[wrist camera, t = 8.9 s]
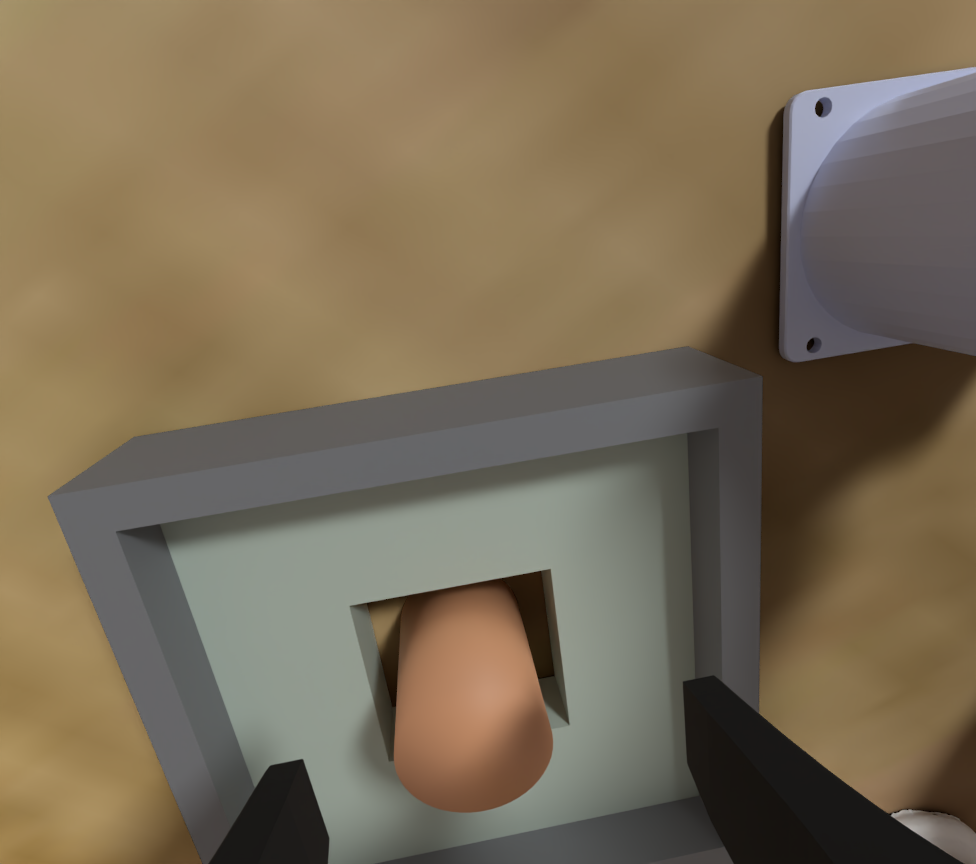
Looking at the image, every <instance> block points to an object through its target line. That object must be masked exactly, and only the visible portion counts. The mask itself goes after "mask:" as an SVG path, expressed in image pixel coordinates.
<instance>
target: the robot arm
mask: <svg viewBox="0 0 976 864" xmlns="http://www.w3.org/2000/svg"><path fill="white" fill-rule="evenodd" d="M817 101H820V102H821V103H822V104H823V113H822V115H821V116H820V117H818V116H817V114H816V113H815V106H816V103H817ZM811 338H814V345H813V347H812V348H811V349H810V350H808V351H807V347H806V346H807V342H808V341H809V340H810V339H811ZM911 343H915V344H920V345H925V346H930V347H934V348H939V349H944V350H949V351H954V352H958V353H963V354H968V355H973V356H976V67H973V68H966V69H959V70H951V71H944V72H937V73H930V74H923V75H916V76H908V77H901V78H894V79H887V80H880V81H873V82H865V83H858V84H851V85H844V86H837V87H830V88H822V89H815V90H808V91H805V92H802V93H799V94H797V95H794V96H793V97H792V98H791V99H790V100H789V101H788V102H787V104H786V106H785V109H784V117H783V167H782V217H781V267H780V317H779V352H780V355H781V356H782V357H783V358H784V359H786V360H788V361H791V362H803V361H809V360H815V359H821V358H827V357H833V356H839V355H845V354H851V353H857V352H863V351H869V350H875V349H881V348H887V347H893V346H899V345H905V344H911ZM683 699H684V717H685V736H686V755H687V764H688V767H689V769H690V772H691V774H692V777H693V779H694V782H695V784H696V787H697V789H698V792H699V794H700V796H701V799H702V801H703V803H704V806H705V808H706V810H707V813H708V815H709V818H710V820H711V822H712V824H713V826H714V828H715V830H716V832H717V833H718V835H719V837H720V839H721V841H722V843H723V845H724V847H725V849H726V850H727V852H728V854H729V856H730V858H731V860H732V862H733V864H964V863H962V862H961V861H959V860H957V859H956V858H954V857H953V856H951V855H949V854H948V853H946V852H945V851H943V850H942V849H940V848H938V847H937V846H935V845H934V844H932V843H931V842H929V841H928V840H926V839H925V838H923V837H922V836H920V835H918V834H917V833H915V832H914V831H912V830H911V829H909V828H908V827H906V826H905V825H903V824H902V823H901V822H899V821H898V820H896V819H895V818H893V817H892V816H890V815H889V814H888V813H886V812H885V811H883V810H882V809H880V808H879V807H878V806H876V805H875V804H873V803H872V802H871V801H869V800H868V799H867V798H865V797H864V796H862V795H861V794H860V793H858V792H857V791H856V790H854V789H853V788H851V787H850V786H849V785H847V784H846V783H845V782H843V781H842V780H841V779H839V778H838V777H837V776H835V775H834V774H833V773H831V772H830V771H829V770H828V769H826V768H825V767H824V766H822V765H821V764H820V763H819V762H817V761H816V760H815V759H814V758H812V757H811V756H810V755H809V754H807V753H806V752H805V751H804V750H802V749H801V748H800V747H799V746H797V745H796V744H795V743H793V742H792V741H791V740H790V739H789V738H787V737H786V736H785V735H784V734H782V733H781V732H780V731H779V730H778V729H776V728H775V727H774V726H773V725H772V724H771V723H769V722H768V721H767V720H766V719H765V718H763V717H762V716H761V715H760V714H759V713H758V712H756V711H755V710H754V709H753V708H752V707H751V706H749V705H748V704H747V703H746V702H745V701H744V700H743V699H741V698H740V697H739V696H738V695H737V694H736V693H735V692H733V691H732V690H731V689H730V688H729V687H728V686H727V685H725V684H724V683H723V682H722V681H721V680H720V679H718V678H717V677H716V676H714V675H712V676H707V677H702V678H697V679H692V680H688V681H683ZM329 840H330V838H329V835H328V832H327V829H326V826H325V823H324V820H323V817H322V814H321V811H320V808H319V805H318V802H317V799H316V796H315V793H314V790H313V787H312V784H311V781H310V778H309V775H308V772H307V769H306V766H305V763H304V760H303V759H299V760H294V761H289V762H284V763H279V764H274V765H270V766H269V767H268V769H267V770H266V771H265V773H264V774H263V776H262V778H261V779H260V781H259V783H258V784H257V786H256V788H255V789H254V791H253V792H252V794H251V796H250V797H249V799H248V801H247V802H246V804H245V806H244V807H243V809H242V811H241V812H240V814H239V816H238V817H237V819H236V820H235V822H234V824H233V825H232V827H231V829H230V830H229V832H228V833H227V835H226V837H225V838H224V840H223V841H222V843H221V845H220V846H219V848H218V849H217V851H216V853H215V854H214V856H213V857H212V859H211V860H210V862H209V863H208V864H328V855H329Z"/></svg>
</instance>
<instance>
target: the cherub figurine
mask: <svg viewBox="0 0 976 864" xmlns="http://www.w3.org/2000/svg"><path fill="white" fill-rule="evenodd" d="M908 810H909V811H908ZM908 810H901V811H900V812H898V813H893V814H892V815H891V816H892V817H893V818H895V819H896V820H898V821H899V822H901V823H902V824H903V825H905V826H906V827H908V828H909V829H911V830H912V831H914V832H915V833H917V834H918V835H920V836H922V837H923V838H925V839H926V840H928V841H929V842H931V843H932V844H934V845H935V846H937V847H938V848H940V849H942V850H943V851H945V852H946V853H948V854H949V855H951V856H953V857H954V858H956V859H957V860H959V861H961V862H962V863H964V864H976V833H975V832H974V831H973V830H972V829H971V828H970V827H969V826H967V825H966V824H964V823H963V822H961V821H960V819H958V818H957V817H954V816H953V815H947V814H946V813H945V814H943V813H940V812H930V813H929V812H925V811H920V810H918V811H917V810H916V811H915V810H914V811H913V810H912V809H908ZM933 814H937V815H933Z"/></svg>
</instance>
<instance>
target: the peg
mask: <svg viewBox="0 0 976 864" xmlns="http://www.w3.org/2000/svg"><path fill="white" fill-rule="evenodd" d="M552 751H553V735H552V730H551V726H550V723H549V719H548V715H547V711H546V708H545V704H544V700H543V696H542V693H541V689H540V685H539V681H538V678H537V674H536V670H535V666H534V663H533V659H532V655H531V651H530V647H529V644H528V640H527V636H526V632H525V629H524V625H523V621H522V617H521V614H520V610H519V606H518V603H517V599H516V597H515V595H514V593H513V592H512V590H511V589H510V587H509V586H508V585H507V584H506V583H505V582H504V581H503V580H501V579H500V578H499V579H493V580H488V581H482V582H477V583H471V584H466V585H460V586H455V587H449V588H444V589H439V590H433V591H428V592H422V593H417V594H411V595H409V596H408V597H407V599H406V601H405V603H404V606H403V609H402V613H401V626H400V645H399V664H398V683H397V702H396V721H395V740H394V765H395V769H396V773H397V775H398V777H399V779H400V781H401V783H402V784H403V786H404V787H405V788H406V789H407V790H408V791H409V793H411V794H412V795H413V796H414V797H415V798H417V799H418V800H420V801H422V802H423V803H425V804H427V805H429V806H431V807H434V808H437V809H440V810H445V811H450V812H459V813H472V812H481V811H486V810H491V809H494V808H497V807H500V806H503V805H505V804H508V803H510V802H512V801H513V800H515V799H517V798H519V797H520V796H522V795H523V794H525V793H526V792H527V791H528V790H530V789H531V788H532V787H533V786H534V785H535V784H536V783H537V782H538V781H539V779H540V778H541V777H542V775H543V774H544V772H545V771H546V769H547V767H548V765H549V762H550V759H551V756H552Z"/></svg>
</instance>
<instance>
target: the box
mask: <svg viewBox="0 0 976 864" xmlns="http://www.w3.org/2000/svg"><path fill="white" fill-rule="evenodd" d="M762 394H763V376H761V375H758V374H756V373H753V372H751V371H748V370H746V369H743V368H741V367H738V366H736V365H733V364H731V363H728V362H726V361H723V360H721V359H718V358H716V357H713V356H711V355H708V354H706V353H703V352H701V351H698V350H696V349H693V348H691V347H681V348H675V349H669V350H663V351H657V352H651V353H645V354H639V355H633V356H626V357H620V358H614V359H608V360H602V361H596V362H590V363H584V364H578V365H571V366H565V367H559V368H553V369H547V370H541V371H535V372H529V373H523V374H516V375H510V376H504V377H498V378H492V379H486V380H480V381H474V382H468V383H461V384H455V385H449V386H443V387H437V388H431V389H425V390H419V391H413V392H407V393H400V394H394V395H388V396H382V397H376V398H370V399H364V400H358V401H352V402H345V403H339V404H333V405H327V406H321V407H315V408H309V409H303V410H297V411H290V412H284V413H278V414H272V415H266V416H260V417H254V418H248V419H242V420H235V421H229V422H223V423H217V424H211V425H205V426H199V427H193V428H187V429H180V430H174V431H168V432H162V433H156V434H150V435H144V436H138V437H133V438H132V439H130V440H129V441H127V442H126V443H124V444H123V445H122V446H120V447H119V448H117V449H116V450H114V451H113V452H111V453H110V454H108V455H107V456H106V457H104V458H103V459H101V460H100V461H98V462H97V463H95V464H94V465H92V466H91V467H90V468H88V469H87V470H85V471H84V472H82V473H81V474H79V475H78V476H76V477H75V478H74V479H72V480H71V481H69V482H68V483H66V484H65V485H63V486H62V487H60V488H59V489H58V490H56V491H55V492H53V493H52V494H50V495H49V496H48V499H49V501H50V503H51V506H52V508H53V510H54V513H55V515H56V518H57V520H58V522H59V525H60V527H61V529H62V532H63V534H64V537H65V539H66V541H67V544H68V546H69V548H70V551H71V553H72V556H73V558H74V560H75V563H76V565H77V567H78V570H79V572H80V574H81V577H82V579H83V582H84V584H85V586H86V589H87V591H88V593H89V596H90V598H91V601H92V603H93V605H94V608H95V610H96V612H97V615H98V617H99V620H100V622H101V624H102V627H103V629H104V631H105V634H106V636H107V638H108V641H109V643H110V646H111V648H112V650H113V653H114V655H115V657H116V660H117V662H118V665H119V667H120V669H121V672H122V674H123V676H124V679H125V681H126V683H127V686H128V688H129V691H130V693H131V695H132V698H133V700H134V702H135V705H136V707H137V710H138V712H139V714H140V717H141V719H142V721H143V724H144V726H145V729H146V731H147V733H148V736H149V738H150V740H151V743H152V745H153V747H154V750H155V752H156V755H157V757H158V759H159V762H160V764H161V766H162V769H163V771H164V774H165V776H166V778H167V781H168V783H169V785H170V788H171V790H172V792H173V795H174V797H175V800H176V802H177V804H178V807H179V809H180V811H181V814H182V816H183V819H184V821H185V823H186V826H187V828H188V830H189V833H190V835H191V838H192V840H193V842H194V845H195V847H196V849H197V852H198V854H199V856H200V859H201V861H202V864H208V863H209V862H210V860H211V859H212V857H213V856H214V854H215V853H216V851H217V849H218V848H219V846H220V845H221V843H222V841H223V840H224V838H225V837H226V835H227V833H228V832H229V830H230V829H231V827H232V825H233V824H234V822H235V820H236V819H237V817H238V816H239V814H240V812H241V811H242V809H243V807H244V806H245V804H246V802H247V801H248V799H249V797H250V796H251V794H252V792H253V791H254V789H255V788H256V786H257V784H258V783H259V781H260V779H261V778H262V776H263V774H264V773H265V771H266V770H267V769H268V767H269V766H270V765H274V764H279V763H284V762H289V761H294V760H299V759H303V760H304V763H305V766H306V769H307V772H308V775H309V778H310V781H311V784H312V787H313V790H314V793H315V796H316V799H317V802H318V805H319V808H320V811H321V814H322V817H323V820H324V823H325V826H326V829H327V832H328V835H329V838H330V840H329V855H328V864H733V862H732V860H731V858H730V856H729V854H728V852H727V850H726V849H725V847H724V845H723V843H722V841H721V839H720V837H719V835H718V833H717V832H716V830H715V828H714V826H713V824H712V822H711V820H710V818H709V815H708V813H707V810H706V808H705V806H704V803H703V801H702V799H701V796H700V794H699V792H698V789H697V787H696V784H695V782H694V779H693V777H692V774H691V772H690V769H689V767H688V764H687V755H686V736H685V717H684V699H683V681H688V680H692V679H697V678H702V677H707V676H712V675H714V676H716V677H717V678H718V679H720V680H721V681H722V682H723V683H724V684H725V685H727V686H728V687H729V688H730V689H731V690H732V691H733V692H735V693H736V694H737V695H738V696H739V697H740V698H741V699H743V700H744V701H745V702H746V703H747V704H748V705H749V706H751V707H752V708H753V709H754V710H755V711H756V712H758V713H759V662H760V573H761V483H762ZM537 571H541V573H542V581H543V589H544V597H545V605H546V612H547V620H548V628H549V636H550V644H551V651H552V659H553V667H554V675H555V676H551V677H546V678H541V679H538V681H539V685H540V689H541V693H542V696H543V700H544V704H545V708H546V711H547V715H548V719H549V723H550V726H551V730H552V735H553V751H552V756H551V759H550V762H549V765H548V767H547V769H546V771H545V772H544V774H543V775H542V777H541V778H540V779H539V781H538V782H537V783H536V784H535V785H534V786H533V787H532V788H531V789H530V790H528V791H527V792H526V793H525V794H523V795H522V796H520V797H519V798H517V799H515V800H513V801H512V802H510V803H508V804H505V805H503V806H500V807H497V808H494V809H491V810H486V811H481V812H472V813H459V812H450V811H445V810H440V809H437V808H434V807H431V806H429V805H427V804H425V803H423V802H422V801H420V800H418V799H417V798H415V797H414V796H413V795H412V794H411V793H409V791H408V790H407V789H406V788H405V787H404V786H403V784H402V783H401V781H400V779H399V777H398V775H397V773H396V769H395V765H394V740H395V721H396V707H392V704H391V700H390V696H389V692H388V688H387V683H386V679H385V675H384V671H383V667H382V663H381V659H380V655H379V651H378V647H377V642H376V638H375V634H374V630H373V626H372V622H371V618H370V614H369V610H368V606H367V603H368V602H373V601H379V600H384V599H390V598H395V597H400V596H406V595H411V594H417V593H422V592H428V591H433V590H439V589H444V588H449V587H455V586H460V585H466V584H471V583H477V582H482V581H488V580H493V579H499V578H504V577H509V576H515V575H520V574H526V573H531V572H537Z"/></svg>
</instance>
